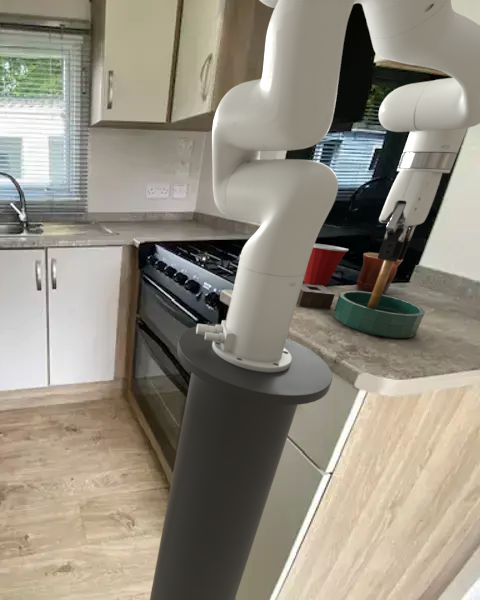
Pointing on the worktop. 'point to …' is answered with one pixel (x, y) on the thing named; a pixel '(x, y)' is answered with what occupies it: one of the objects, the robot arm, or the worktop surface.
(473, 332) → the worktop surface
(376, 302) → the stick
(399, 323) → the bowl
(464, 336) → the worktop surface
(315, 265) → the plastic cup
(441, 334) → the worktop surface
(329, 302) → the holder
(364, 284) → the mug
